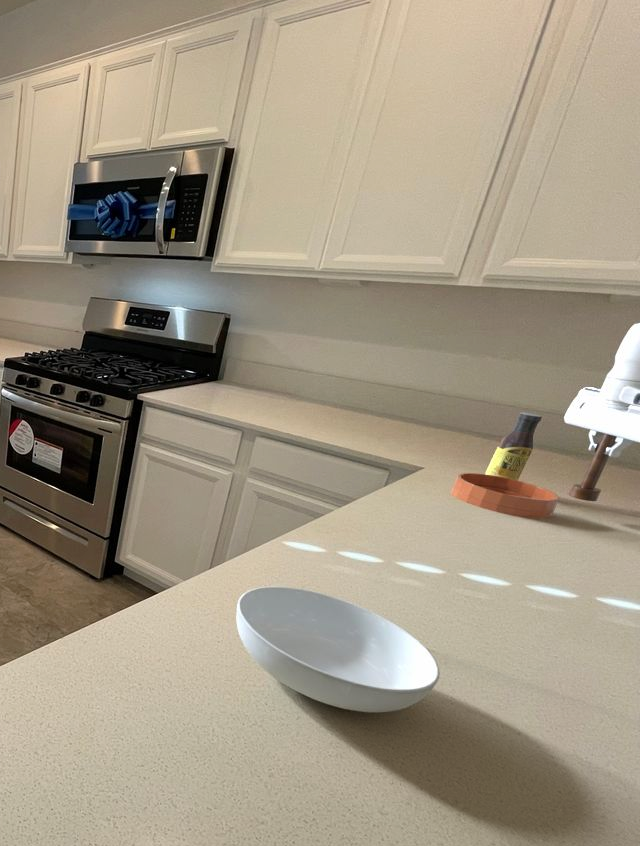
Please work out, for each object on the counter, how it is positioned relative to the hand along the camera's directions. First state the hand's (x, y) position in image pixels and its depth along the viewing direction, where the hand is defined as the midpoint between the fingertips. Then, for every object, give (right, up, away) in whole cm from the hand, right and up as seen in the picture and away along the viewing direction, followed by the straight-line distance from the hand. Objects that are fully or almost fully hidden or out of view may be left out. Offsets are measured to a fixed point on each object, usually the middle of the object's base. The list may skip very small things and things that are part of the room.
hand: (603, 453), depth 131 cm
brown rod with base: (0, -10, +4) cm, 11 cm away
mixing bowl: (-19, -13, +5) cm, 23 cm away
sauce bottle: (-3, -8, +21) cm, 23 cm away
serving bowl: (-103, -31, -57) cm, 122 cm away
